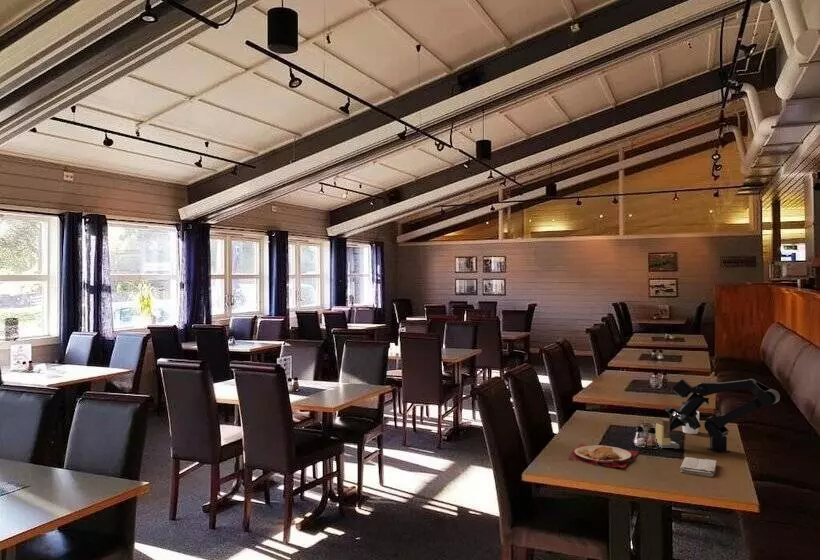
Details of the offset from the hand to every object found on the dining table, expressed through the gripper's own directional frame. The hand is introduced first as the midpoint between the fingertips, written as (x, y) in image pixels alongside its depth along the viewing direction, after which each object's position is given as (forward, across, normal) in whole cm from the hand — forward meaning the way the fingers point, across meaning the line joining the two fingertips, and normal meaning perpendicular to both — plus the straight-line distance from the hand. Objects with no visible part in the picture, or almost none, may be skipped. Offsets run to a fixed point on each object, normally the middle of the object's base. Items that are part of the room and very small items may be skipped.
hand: (667, 431), depth 273 cm
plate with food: (+29, -15, +20) cm, 39 cm away
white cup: (-10, +24, -21) cm, 33 cm away
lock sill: (+5, 0, -4) cm, 7 cm away
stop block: (+5, 0, -2) cm, 5 cm away
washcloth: (+7, -32, -4) cm, 33 cm away
